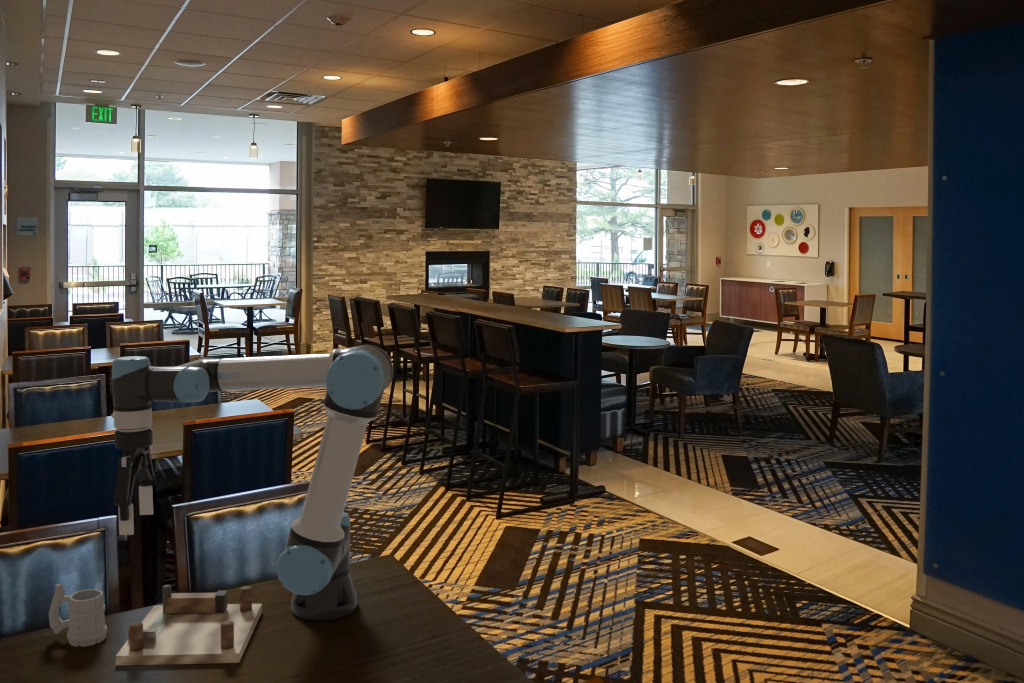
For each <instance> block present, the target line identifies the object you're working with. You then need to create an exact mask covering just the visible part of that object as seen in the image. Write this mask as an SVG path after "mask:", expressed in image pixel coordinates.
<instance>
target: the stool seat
mask: <svg viewBox="0 0 1024 683" xmlns="http://www.w3.org/2000/svg"><path fill="white" fill-rule="evenodd" d="M262 613H263V604H262V603H253V587H252V586H249V585H246V586H245V585H244V586H241V587H240V588H239V603H227V609H226V611H225V613H166V614H165V613H163V604H159V605H158V604H157V605H153V606H152V607H151V609H150V610H149V611H148V613H147V614H146V615H145V617H144V618H143V620H142V621H141V622H140V621H138V622H137V621H136V622H132V623H130V624H129V625H128V628H127V640H126V642H125V643H124V645H123V646H122V647H121V648H120V650H119V651H118V652H117V653H116V655H115V666H146V665H147V666H155V665H157V666H158V665H188V664H189V665H193V664H194V665H195V664H196V665H197V664H200V665H201V664H202V665H203V664H228V663H229V664H232V663H234V664H236V663H240V662H241V659H242V657H243V655H244V653H245V652H246V651H245V650H246V648H247V646H248V644H249V642H250V640H251V637H252V635H253V633H254V631H255V628H256V626H257V624H258V621H259V619H260V617H261V615H262Z"/></svg>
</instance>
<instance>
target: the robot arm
mask: <svg viewBox="0 0 1024 683" xmlns="http://www.w3.org/2000/svg"><path fill="white" fill-rule="evenodd" d="M150 360H151V359H150V358H149V357H147V356H139V355H138V356H137V355H135V356H134V355H133V356H122V357H121V356H120V357H117V358H115V359H114V360H112V363H111V378H110V381H111V388H112V389H111V390H112V402H113V403H112V404H113V405H112V406H113V407H112V409H113V411H112V412H113V413H111V414H110V416H111V418H112V419H113V427H114V428H115V431H114V432H113V438H114V443H113V444H114V447H115V448H116V449H118V450H123V456H118V458H117V469H116V470H117V471H116V472H117V473H116V480H115V489H114V498H113V501H112V505H113V506H115V507H116V506H117V509H118V511H117V514H118V534H119V536H133V535H134V534H135V527H134V525H135V524H134V521H135V520H134V503H132V498H133V495H134V494H133V493H134V488H135V483H136V479H138V481H139V486H138V504H139V516H147V515H148V516H150V515H151V516H152V515H154V500H153V498H154V497H153V495H154V494H153V493H154V492H153V486H154V485H155V486H156V485H157V479H156V474H155V468H154V465H153V464H154V463H153V460H152V455H151V448H150V447H151V446H152V445H153V443H154V442H153V440H154V439H153V438H154V437H153V428H152V427H151V426H153V410H152V402H154V403H156V402H169V403H172V402H173V403H175V402H176V403H177V402H178V403H185V404H189V403H193V402H194V403H195V402H198V403H199V402H202V401H204V400H206V398H207V396H208V395H209V394H208V393H212V392H213V393H214V392H217V393H218V392H226V391H227V392H229V391H252V390H255V391H256V390H274V389H276V390H277V389H299V388H303V389H304V388H321V387H322V388H323V387H326V391H325V397H324V401H323V407H324V408H325V410H326V412H327V417H326V421H325V425H324V429H323V432H322V436H321V439H320V443H319V447H318V451H317V455H316V459H315V462H314V466H313V470H312V473H311V477H310V482H309V486H308V489H307V493H306V496H305V500H304V503H303V507H302V511H301V515H300V516H299V517H298V518H297V519H294V520H293V521H292V522H291V524H290V530H289V533H288V537H287V540H286V543H285V548H284V550H282V551H281V553H280V554H279V556H278V558H277V561H276V567H275V569H276V575H277V578H278V580H279V582H280V583H281V584H282V587H284V588H285V589H286V590H288V591H289V592H290V593H293V595H292V598H291V602H290V603H291V612H292V615H294V616H296V617H297V618H300V619H303V620H307V621H318V622H319V621H330V620H336V619H341V618H343V617H346V616H348V615H350V614H352V613H353V612H354V611H355V610H356V609H355V608H357V607H356V606H357V604H358V602H357V601H358V596H357V592H356V589H355V587H354V583H353V580H352V578H351V574H350V573H351V572H350V567H351V564H350V563H351V560H350V559H351V528H352V525H351V517H350V515H349V513H347V512H344V511H345V508H346V505H347V500H348V497H349V494H350V489H351V485H352V482H353V478H354V475H355V471H356V469H357V468H356V467H357V464H358V460H359V456H360V453H361V449H362V445H363V442H364V438H365V434H366V430H367V426H368V424H369V423H370V422H371V421H373V420H375V419H377V417H378V414H379V413H378V412H379V409H380V407H381V406H380V405H381V402H382V399H383V395H384V391H385V390H386V389H387V388H388V387H389V386H390V384H391V382H392V379H393V376H394V365H393V362H392V359H391V357H390V355H388V353H387V352H386V351H385V350H384V349H382V348H380V347H378V346H376V345H371V344H362V345H356V346H352V347H345V348H344V347H343V348H334V349H332V351H331V352H330V353H310V354H290V355H287V354H286V355H271V356H270V355H269V356H268V355H267V356H248V357H247V356H246V357H231V358H230V357H229V358H228V357H227V358H226V357H225V358H213V357H200V358H197V359H195V360H193V361H190V362H186V363H184V364H179V365H177V366H152V365H151V361H150ZM136 477H137V478H136Z"/></svg>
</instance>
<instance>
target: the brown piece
mask: <svg viewBox="0 0 1024 683" xmlns="http://www.w3.org/2000/svg"><path fill="white" fill-rule="evenodd" d="M227 604H228V590H222V589H221V590H220V589H219V590H217V591H216V592H174V593H173V592H172V585H171V584H164V585H162V605H163V613H165V614H166V613H225V611H226V609H227Z"/></svg>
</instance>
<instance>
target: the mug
mask: <svg viewBox="0 0 1024 683" xmlns="http://www.w3.org/2000/svg"><path fill="white" fill-rule="evenodd" d="M54 590H55V591H54V594H53V598H52V601H51V603H50V604H51V605H50V606H49V611H48V622H49V623H48V624H49V627H50V628H51V629H52V630H53V633H54V635H58V634H59V633H61V631H62V630H64V629H67V628H68V630H67V632H66V639H67V640H68V644H69V645H70V646H72V647H74V648H75V647H76V648H78V647H82V648H83V647H90V646H93V645H95V644H99V643H101V642H103V641H104V640H105V639H106V636H107V635H106V634H107V631H108V626H107V624H106V618H105V611H106V604H105V603H104V591H102V590H101V589H97V588H96V589H95V588H92V589H91V588H90V589H89V588H88V589H82V590H79V591H76V592H73V593H72V594H69V595H67V594H66V592H65V591H66V590H65V589H64V587H63V585H61V584H60V583H57V584H55V587H54ZM63 602H69V604H68V607H69V608H68V609H67V616H68V619H65V620H63V619H62V618H61V617H60V615H59V608H60V606H61V605H62V604H63Z"/></svg>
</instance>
